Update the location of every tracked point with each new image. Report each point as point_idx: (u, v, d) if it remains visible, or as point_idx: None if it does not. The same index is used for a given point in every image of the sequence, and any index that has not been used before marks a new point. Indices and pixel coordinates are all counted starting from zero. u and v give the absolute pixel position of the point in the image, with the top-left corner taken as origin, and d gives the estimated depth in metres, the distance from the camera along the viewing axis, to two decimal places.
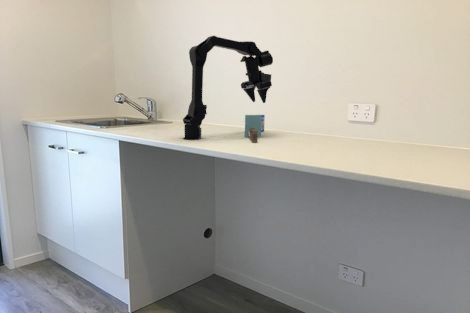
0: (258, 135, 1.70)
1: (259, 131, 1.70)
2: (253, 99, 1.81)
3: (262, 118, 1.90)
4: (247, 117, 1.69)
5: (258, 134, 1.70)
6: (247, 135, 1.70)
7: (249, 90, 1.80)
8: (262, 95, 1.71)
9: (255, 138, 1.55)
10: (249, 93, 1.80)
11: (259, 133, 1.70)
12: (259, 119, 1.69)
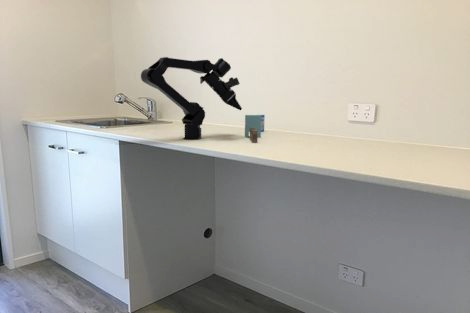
0: (258, 135, 1.70)
1: (259, 131, 1.70)
2: None
3: (262, 118, 1.90)
4: (247, 117, 1.69)
5: (258, 134, 1.70)
6: (247, 135, 1.70)
7: None
8: (233, 105, 1.63)
9: (255, 138, 1.55)
10: None
11: (259, 133, 1.70)
12: (259, 119, 1.69)
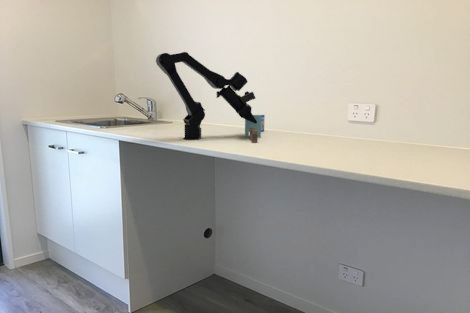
0: (258, 135, 1.70)
1: (259, 131, 1.70)
2: None
3: (262, 118, 1.90)
4: None
5: (258, 134, 1.70)
6: (247, 135, 1.70)
7: None
8: (249, 118, 1.67)
9: (255, 138, 1.55)
10: None
11: (259, 133, 1.70)
12: (259, 119, 1.69)
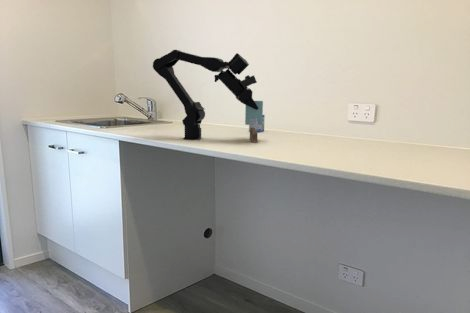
0: (259, 122, 1.58)
1: (261, 118, 1.58)
2: None
3: (262, 118, 1.90)
4: None
5: (259, 121, 1.58)
6: (248, 122, 1.58)
7: None
8: (250, 104, 1.55)
9: (255, 138, 1.55)
10: None
11: (261, 120, 1.58)
12: (261, 105, 1.57)
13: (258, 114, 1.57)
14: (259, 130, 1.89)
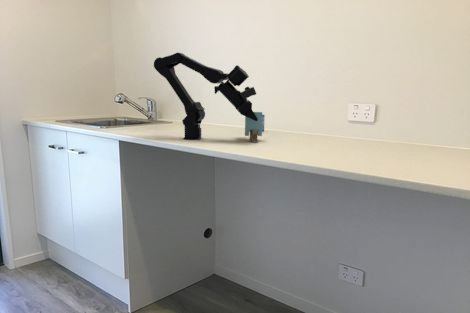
0: (259, 133, 1.59)
1: (260, 129, 1.59)
2: None
3: (262, 118, 1.90)
4: None
5: (259, 132, 1.59)
6: (247, 133, 1.59)
7: None
8: (249, 116, 1.56)
9: (255, 138, 1.55)
10: None
11: (260, 131, 1.59)
12: (260, 116, 1.58)
13: (258, 125, 1.58)
14: None
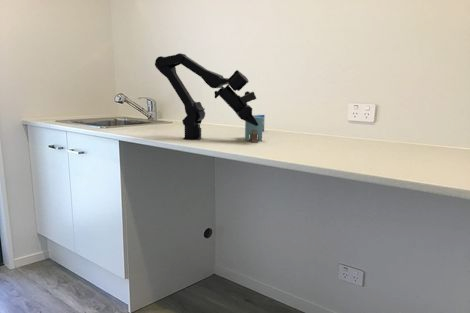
0: (259, 139, 1.59)
1: (260, 134, 1.59)
2: None
3: (262, 118, 1.90)
4: None
5: (259, 137, 1.59)
6: (247, 139, 1.59)
7: None
8: (249, 120, 1.55)
9: (255, 138, 1.55)
10: None
11: (260, 136, 1.59)
12: (260, 121, 1.58)
13: (258, 130, 1.59)
14: None
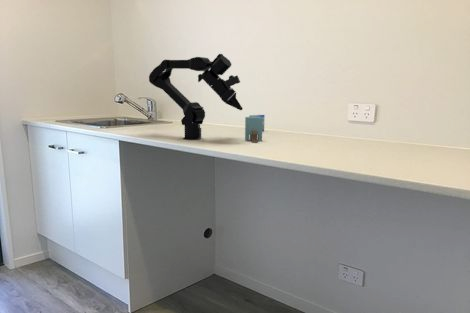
0: (259, 139, 1.59)
1: (260, 134, 1.59)
2: None
3: (262, 118, 1.90)
4: (247, 119, 1.58)
5: (259, 137, 1.59)
6: (247, 139, 1.59)
7: None
8: (234, 105, 1.52)
9: (255, 138, 1.55)
10: None
11: (260, 136, 1.59)
12: (260, 121, 1.58)
13: (258, 130, 1.59)
14: None
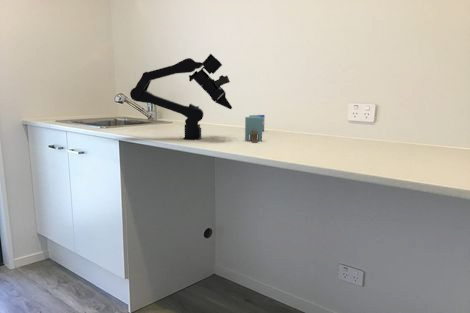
0: (259, 139, 1.59)
1: (260, 134, 1.59)
2: None
3: (262, 118, 1.90)
4: (247, 119, 1.58)
5: (259, 137, 1.59)
6: (247, 139, 1.59)
7: None
8: (223, 104, 1.57)
9: (255, 138, 1.55)
10: None
11: (260, 136, 1.59)
12: (260, 121, 1.58)
13: (258, 130, 1.59)
14: None
